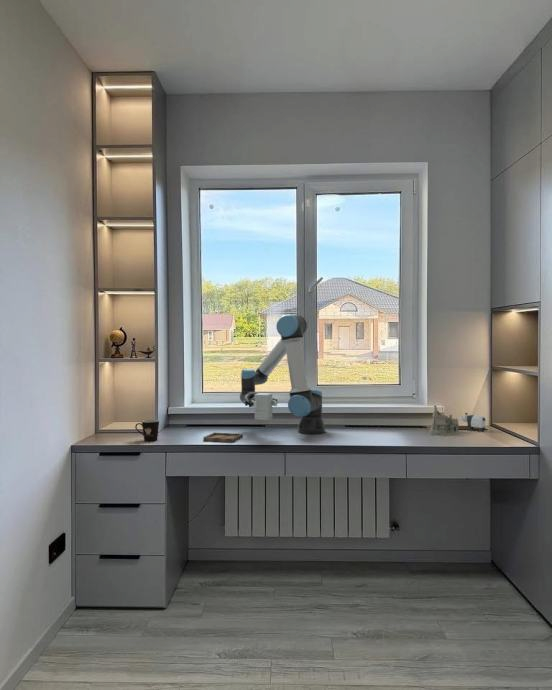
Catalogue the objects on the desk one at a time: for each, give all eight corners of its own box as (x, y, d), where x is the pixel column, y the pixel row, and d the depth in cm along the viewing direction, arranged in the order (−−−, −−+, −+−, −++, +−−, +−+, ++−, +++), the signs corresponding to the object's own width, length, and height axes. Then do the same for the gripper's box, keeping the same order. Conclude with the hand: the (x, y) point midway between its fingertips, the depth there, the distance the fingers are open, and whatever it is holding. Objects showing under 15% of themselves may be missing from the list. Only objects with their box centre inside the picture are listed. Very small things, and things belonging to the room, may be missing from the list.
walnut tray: (242, 437, 275) (242, 433, 275) (233, 442, 262) (233, 438, 262) (214, 436, 279) (214, 432, 279) (203, 441, 266) (203, 437, 266)
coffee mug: (163, 440, 269) (162, 420, 269) (150, 442, 262) (150, 422, 262) (146, 437, 276) (146, 418, 275) (134, 440, 268) (134, 420, 268)
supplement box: (272, 418, 269) (272, 393, 269) (267, 420, 262) (267, 394, 262) (259, 417, 271) (259, 392, 271) (254, 419, 264) (254, 394, 264)
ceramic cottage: (428, 434, 281) (430, 406, 281) (429, 430, 296) (431, 404, 296) (459, 438, 276) (461, 409, 276) (459, 434, 291) (461, 406, 291)
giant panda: (487, 431, 291) (487, 413, 291) (483, 432, 287) (483, 414, 287) (461, 428, 301) (461, 411, 301) (457, 429, 297) (457, 412, 297)
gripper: (273, 405, 287) (287, 410, 266) (233, 407, 280) (244, 412, 259) (273, 391, 287) (287, 395, 266) (232, 393, 280) (244, 397, 259)
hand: (266, 404), depth 262 cm, fingers closed on supplement box, 10 cm apart
